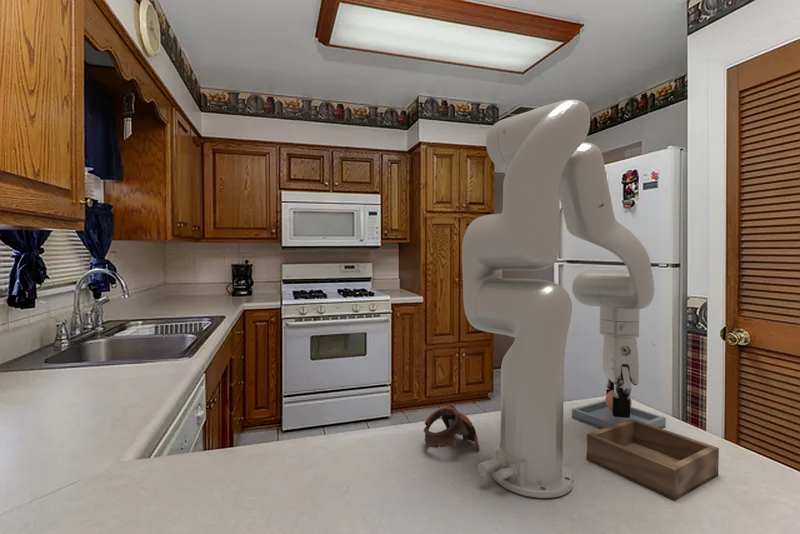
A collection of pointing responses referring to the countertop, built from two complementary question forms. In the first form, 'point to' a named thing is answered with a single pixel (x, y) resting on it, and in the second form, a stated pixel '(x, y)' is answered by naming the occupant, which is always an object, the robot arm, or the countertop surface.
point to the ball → (610, 399)
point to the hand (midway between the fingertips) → (617, 411)
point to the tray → (603, 416)
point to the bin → (653, 457)
